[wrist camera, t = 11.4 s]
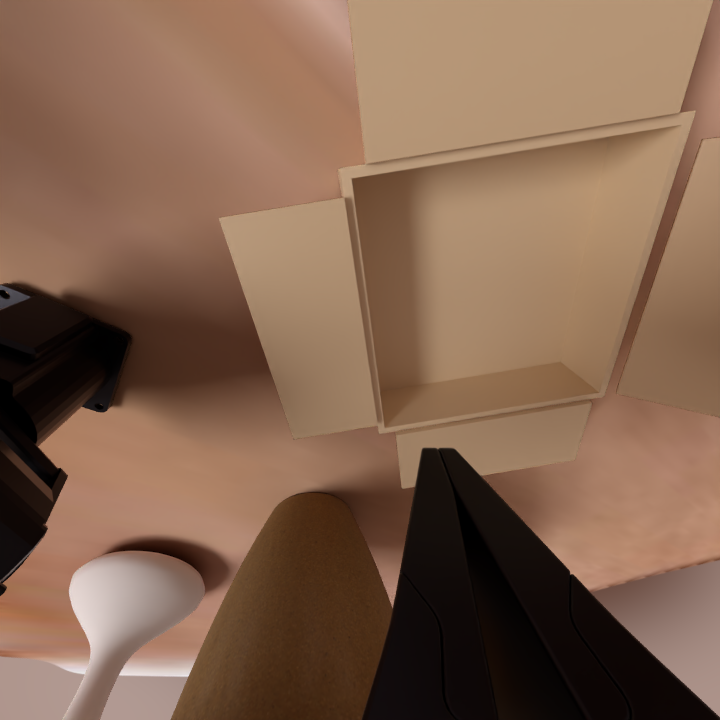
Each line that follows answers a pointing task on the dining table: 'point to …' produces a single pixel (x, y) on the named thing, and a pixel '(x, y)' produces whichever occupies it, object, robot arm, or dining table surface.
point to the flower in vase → (126, 614)
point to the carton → (477, 225)
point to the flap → (684, 303)
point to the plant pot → (294, 623)
